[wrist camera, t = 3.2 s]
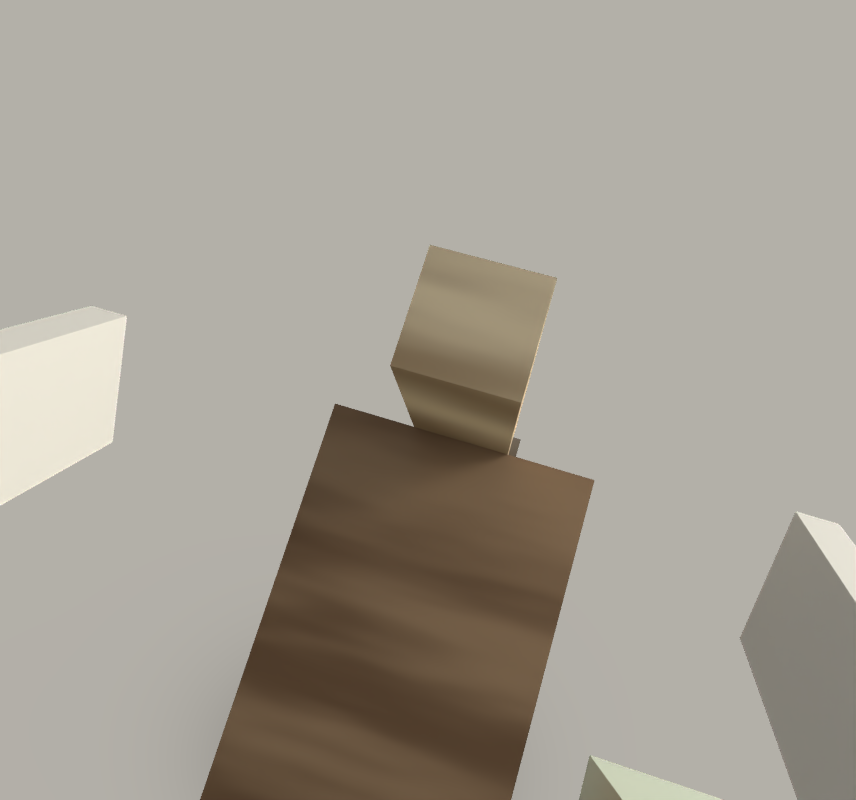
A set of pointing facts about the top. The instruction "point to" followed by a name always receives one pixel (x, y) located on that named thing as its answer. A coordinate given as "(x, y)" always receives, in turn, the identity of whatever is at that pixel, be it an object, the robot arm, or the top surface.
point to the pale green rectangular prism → (631, 785)
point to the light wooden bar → (471, 347)
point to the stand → (403, 623)
